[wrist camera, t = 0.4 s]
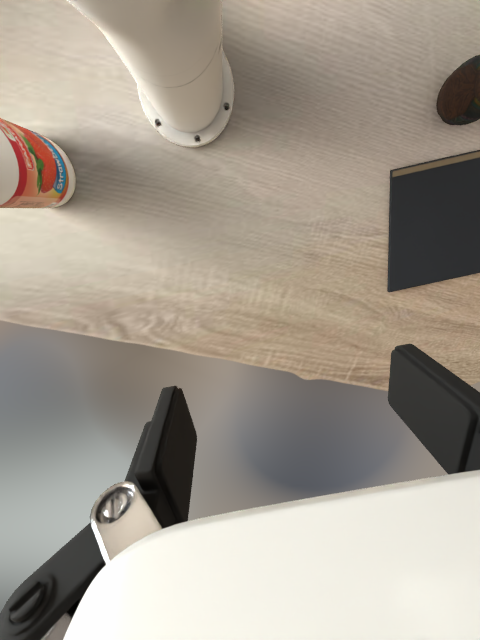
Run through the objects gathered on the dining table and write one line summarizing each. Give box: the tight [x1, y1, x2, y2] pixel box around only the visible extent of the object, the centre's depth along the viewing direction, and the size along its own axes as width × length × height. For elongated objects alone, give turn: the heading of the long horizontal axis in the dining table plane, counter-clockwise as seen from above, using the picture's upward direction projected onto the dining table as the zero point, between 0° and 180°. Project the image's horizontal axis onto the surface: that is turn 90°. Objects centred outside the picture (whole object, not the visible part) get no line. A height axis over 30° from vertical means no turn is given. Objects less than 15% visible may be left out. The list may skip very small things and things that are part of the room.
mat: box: [388, 150, 480, 292], centre depth 44 cm, size 20×18×1 cm
